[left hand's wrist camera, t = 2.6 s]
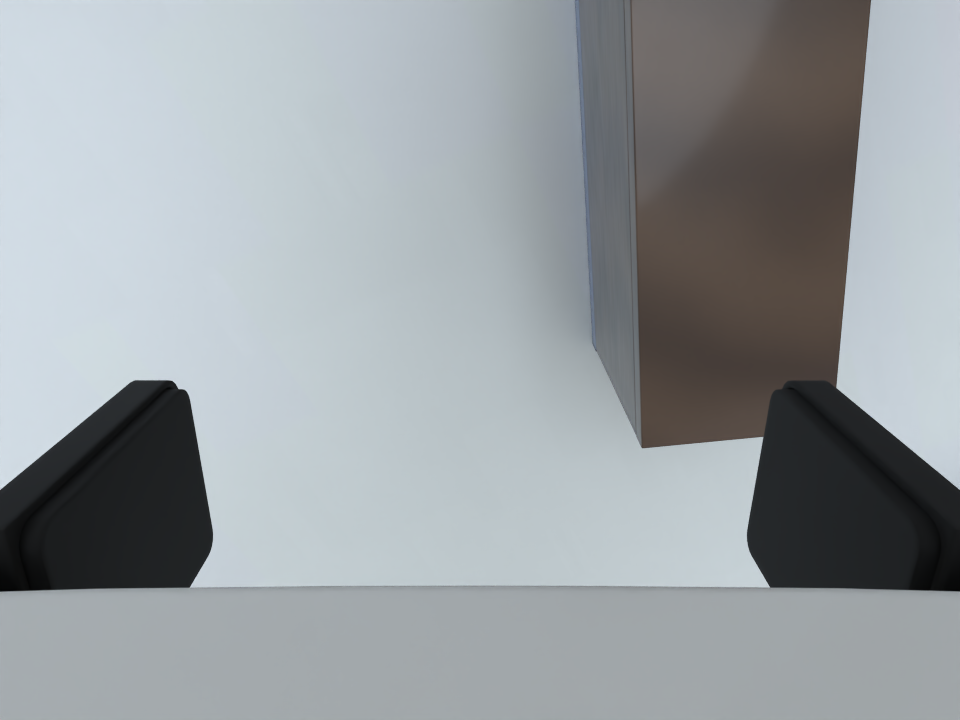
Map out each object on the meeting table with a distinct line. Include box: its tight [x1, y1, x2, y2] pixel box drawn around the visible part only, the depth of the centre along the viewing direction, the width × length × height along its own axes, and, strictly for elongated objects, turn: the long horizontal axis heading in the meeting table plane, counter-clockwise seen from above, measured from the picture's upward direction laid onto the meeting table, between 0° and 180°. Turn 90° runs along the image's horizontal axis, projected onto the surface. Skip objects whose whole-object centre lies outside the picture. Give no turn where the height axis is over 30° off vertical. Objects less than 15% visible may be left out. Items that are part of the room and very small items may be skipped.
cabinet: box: [575, 0, 871, 448], centre depth 24 cm, size 19×6×10 cm, turn 6°
